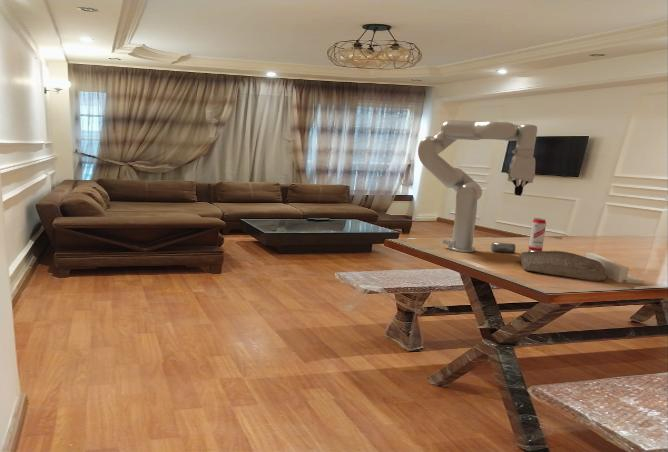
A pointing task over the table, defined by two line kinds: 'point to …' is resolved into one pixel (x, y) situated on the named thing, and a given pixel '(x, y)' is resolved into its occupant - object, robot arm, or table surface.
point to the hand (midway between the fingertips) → (517, 195)
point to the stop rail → (615, 270)
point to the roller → (503, 247)
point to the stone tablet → (563, 265)
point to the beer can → (537, 234)
